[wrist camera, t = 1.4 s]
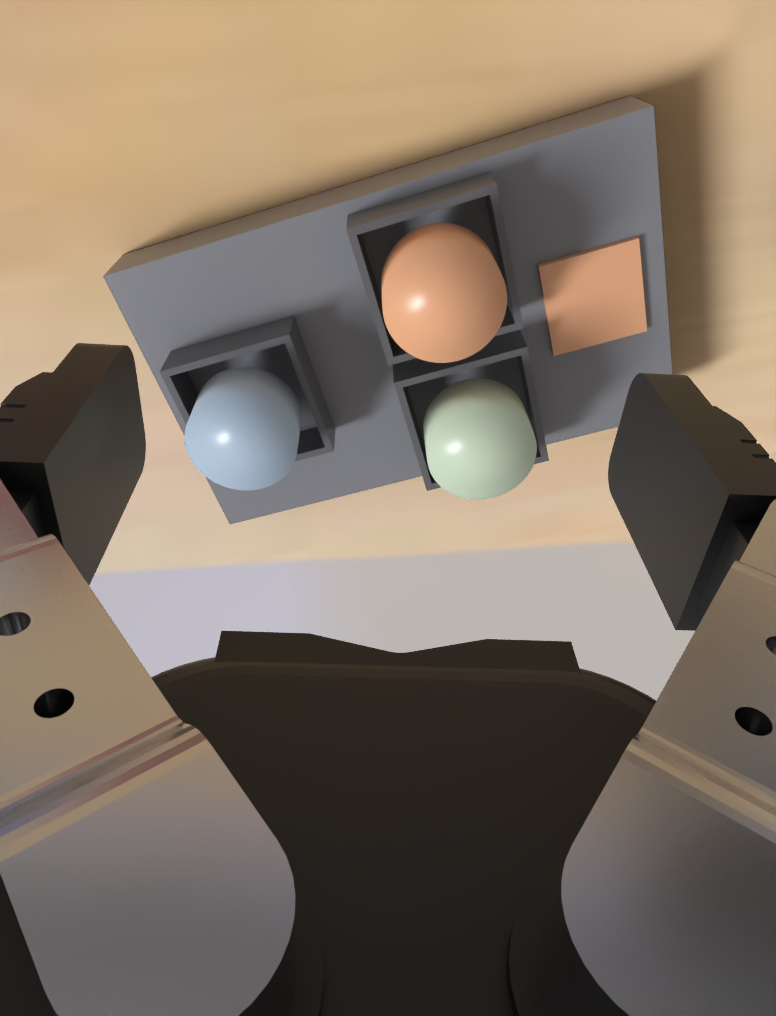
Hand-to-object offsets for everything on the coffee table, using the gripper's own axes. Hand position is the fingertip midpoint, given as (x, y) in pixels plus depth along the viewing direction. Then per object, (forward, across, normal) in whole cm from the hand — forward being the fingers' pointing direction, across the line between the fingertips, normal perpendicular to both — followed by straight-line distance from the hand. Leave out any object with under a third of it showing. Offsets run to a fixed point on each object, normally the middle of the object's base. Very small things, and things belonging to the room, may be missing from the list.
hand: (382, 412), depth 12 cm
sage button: (+17, -5, +9) cm, 20 cm away
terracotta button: (+17, -3, +3) cm, 18 cm away
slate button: (+17, +5, +9) cm, 20 cm away
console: (+22, -2, +7) cm, 23 cm away
